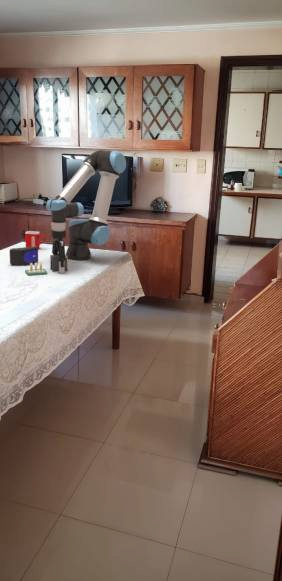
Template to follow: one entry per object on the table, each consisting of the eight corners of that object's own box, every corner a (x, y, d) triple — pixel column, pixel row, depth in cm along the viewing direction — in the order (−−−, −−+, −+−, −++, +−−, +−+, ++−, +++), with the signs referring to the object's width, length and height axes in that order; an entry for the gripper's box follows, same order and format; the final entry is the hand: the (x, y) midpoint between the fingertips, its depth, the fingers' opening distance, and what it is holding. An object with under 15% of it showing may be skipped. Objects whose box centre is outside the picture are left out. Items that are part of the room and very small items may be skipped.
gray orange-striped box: (64, 268, 249) (64, 254, 246) (67, 270, 244) (67, 256, 242) (50, 269, 245) (50, 254, 243) (52, 271, 241) (52, 257, 238)
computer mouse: (12, 266, 246) (11, 250, 243) (9, 264, 249) (8, 248, 246) (40, 264, 254) (40, 247, 251) (37, 262, 258) (37, 246, 255)
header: (44, 270, 242) (43, 260, 240) (47, 274, 236) (47, 264, 234) (25, 272, 238) (24, 261, 236) (28, 275, 232) (27, 265, 230)
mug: (24, 250, 283) (24, 233, 279) (27, 247, 290) (27, 231, 287) (44, 251, 283) (43, 234, 280) (46, 248, 291) (46, 231, 288)
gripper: (46, 225, 246) (46, 264, 253) (57, 234, 226) (57, 276, 233) (59, 225, 249) (59, 263, 256) (72, 234, 229) (71, 275, 236)
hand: (58, 269), depth 245 cm, fingers open, 11 cm apart
